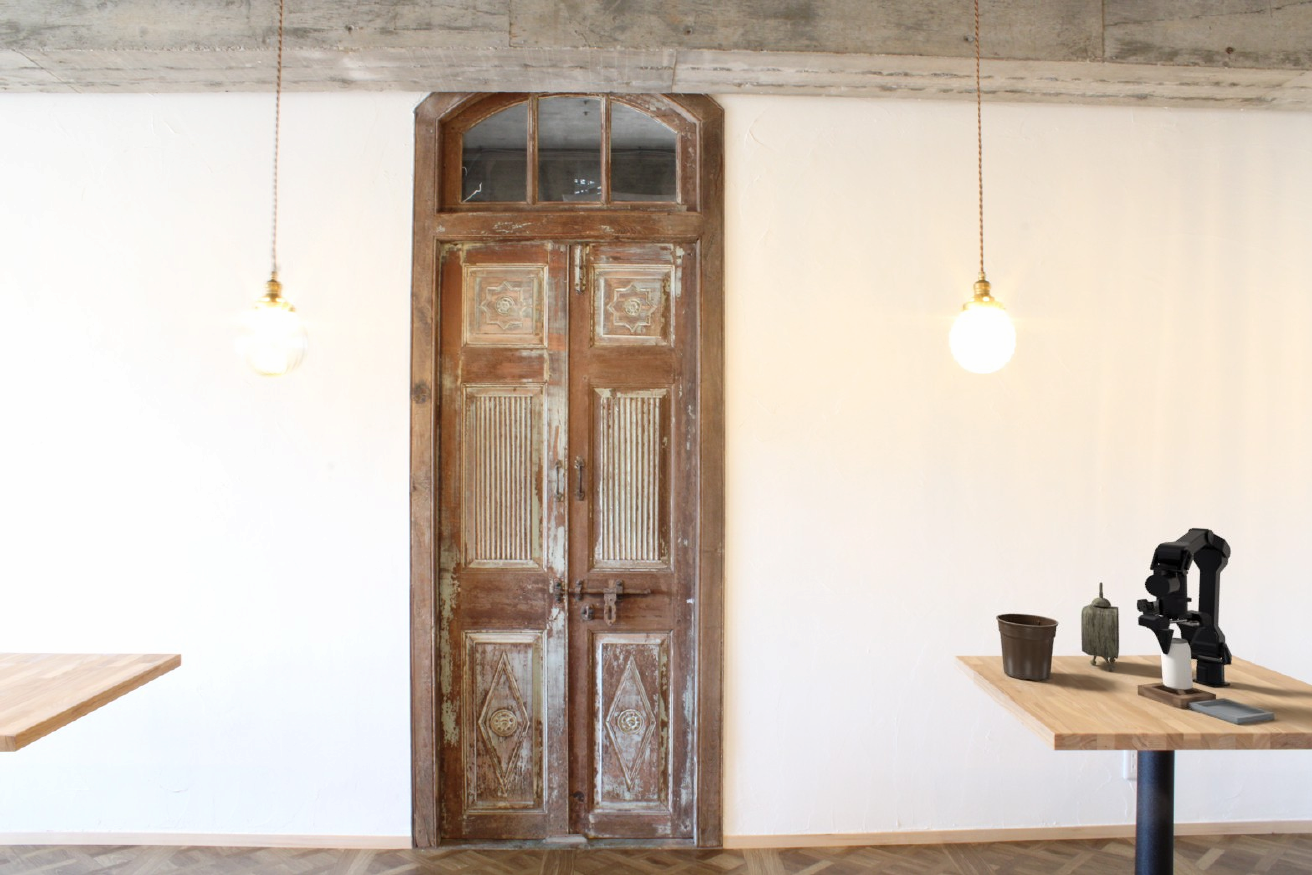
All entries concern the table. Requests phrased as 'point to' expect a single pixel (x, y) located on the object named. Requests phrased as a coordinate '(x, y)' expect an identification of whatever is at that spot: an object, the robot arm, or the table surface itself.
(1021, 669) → the plant pot
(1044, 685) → the table surface
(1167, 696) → the wooden square frame
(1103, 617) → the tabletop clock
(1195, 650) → the robot arm
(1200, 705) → the tray
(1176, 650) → the can
